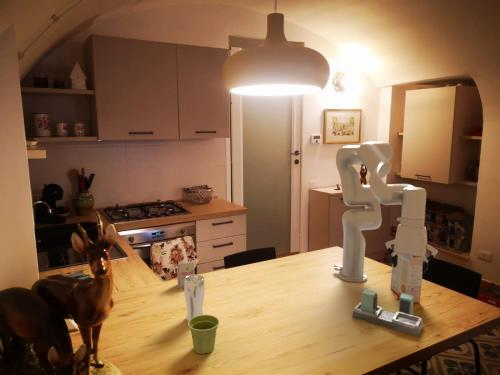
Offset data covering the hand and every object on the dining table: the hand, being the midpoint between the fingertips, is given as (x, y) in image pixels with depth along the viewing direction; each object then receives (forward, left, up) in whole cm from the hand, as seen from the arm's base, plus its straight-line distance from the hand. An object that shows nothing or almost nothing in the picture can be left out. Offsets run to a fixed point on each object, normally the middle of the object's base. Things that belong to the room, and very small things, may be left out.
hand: (409, 269), depth 133 cm
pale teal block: (0, 0, -18) cm, 17 cm away
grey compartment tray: (-4, -10, -17) cm, 20 cm away
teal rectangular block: (-11, -10, -15) cm, 21 cm away
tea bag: (-83, -28, -18) cm, 90 cm away
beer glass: (-60, -47, -18) cm, 78 cm away
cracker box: (-4, +17, -18) cm, 25 cm away
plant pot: (-45, -59, -18) cm, 76 cm away
